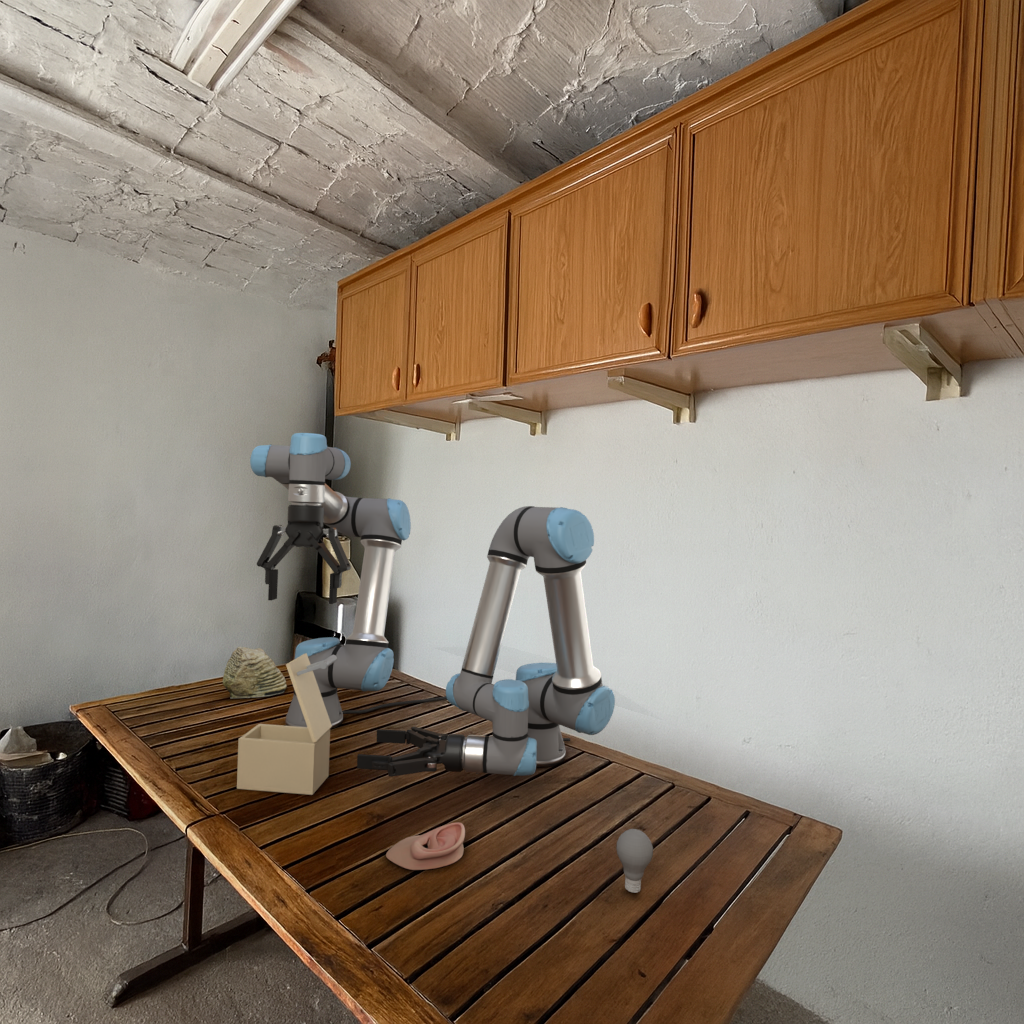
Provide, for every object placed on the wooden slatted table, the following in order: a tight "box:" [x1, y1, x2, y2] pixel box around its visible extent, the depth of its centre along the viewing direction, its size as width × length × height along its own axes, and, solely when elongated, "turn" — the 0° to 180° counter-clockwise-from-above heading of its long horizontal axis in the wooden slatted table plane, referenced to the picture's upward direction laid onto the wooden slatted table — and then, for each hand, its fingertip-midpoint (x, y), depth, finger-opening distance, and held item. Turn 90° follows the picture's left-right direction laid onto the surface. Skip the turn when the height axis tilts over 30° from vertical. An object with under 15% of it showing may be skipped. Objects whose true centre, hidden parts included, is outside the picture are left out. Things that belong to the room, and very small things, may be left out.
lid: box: [285, 653, 337, 742], centre depth 139 cm, size 18×9×8 cm
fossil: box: [222, 646, 288, 699], centre depth 198 cm, size 9×18×15 cm, turn 132°
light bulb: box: [615, 828, 654, 894], centre depth 106 cm, size 6×6×10 cm
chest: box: [236, 723, 331, 796], centre depth 140 cm, size 17×9×11 cm, turn 86°
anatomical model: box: [385, 821, 466, 871], centre depth 114 cm, size 13×4×12 cm
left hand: (302, 601), depth 139 cm, fingers open, 13 cm apart
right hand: (367, 747), depth 137 cm, fingers open, 13 cm apart
